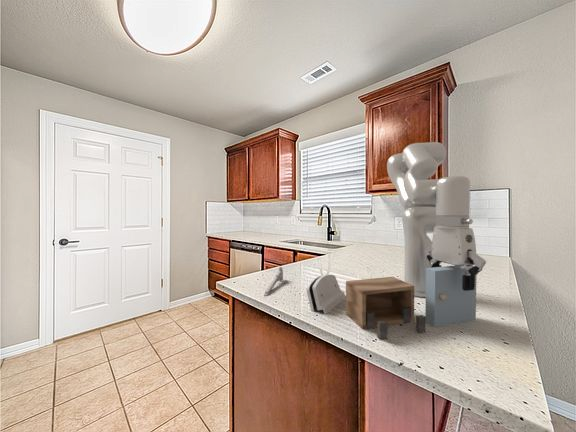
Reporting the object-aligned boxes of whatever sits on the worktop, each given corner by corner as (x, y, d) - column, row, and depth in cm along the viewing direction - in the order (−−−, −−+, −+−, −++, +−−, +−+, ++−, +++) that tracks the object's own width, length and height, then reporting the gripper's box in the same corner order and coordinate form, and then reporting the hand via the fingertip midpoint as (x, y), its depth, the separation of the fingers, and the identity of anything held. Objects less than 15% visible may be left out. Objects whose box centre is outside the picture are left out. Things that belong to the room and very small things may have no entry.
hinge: (325, 314, 71) (315, 281, 72) (312, 316, 73) (302, 284, 75) (346, 297, 84) (337, 269, 86) (334, 298, 87) (326, 272, 89)
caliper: (280, 279, 106) (280, 265, 106) (283, 280, 106) (282, 266, 105) (263, 296, 86) (263, 279, 86) (266, 297, 86) (266, 279, 86)
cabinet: (345, 314, 71) (345, 281, 71) (392, 308, 75) (392, 276, 74) (374, 340, 57) (374, 299, 57) (430, 331, 61) (430, 292, 60)
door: (425, 321, 66) (426, 268, 65) (465, 315, 69) (466, 264, 69) (438, 329, 62) (439, 272, 61) (480, 322, 65) (481, 268, 65)
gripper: (497, 224, 58) (495, 293, 58) (436, 220, 74) (435, 274, 75) (472, 224, 56) (471, 296, 57) (416, 220, 73) (415, 276, 73)
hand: (451, 284), depth 66 cm, fingers open, 9 cm apart
